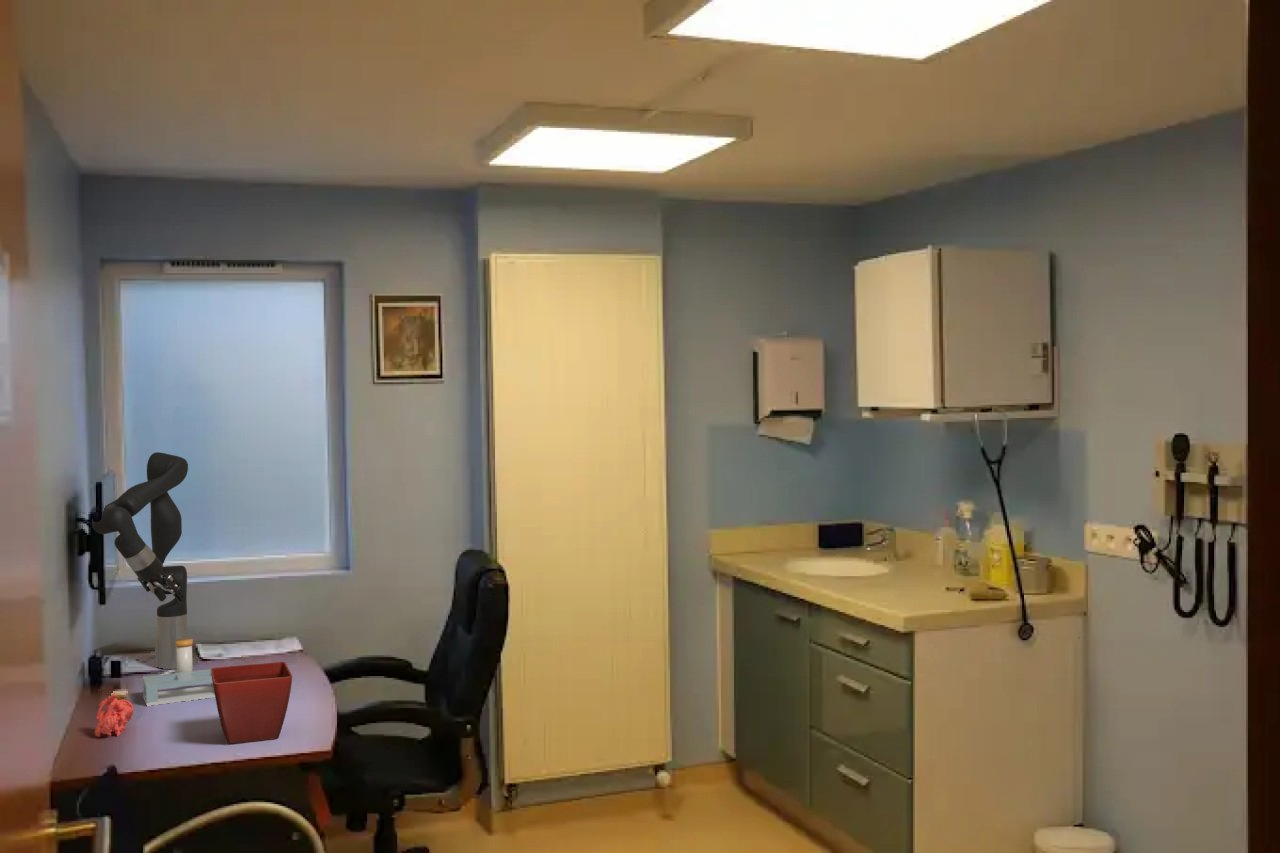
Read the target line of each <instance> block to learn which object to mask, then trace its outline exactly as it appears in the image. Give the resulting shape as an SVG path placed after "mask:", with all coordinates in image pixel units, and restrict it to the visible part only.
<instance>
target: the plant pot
mask: <svg viewBox="0 0 1280 853" xmlns="http://www.w3.org/2000/svg"><path fill="white" fill-rule="evenodd" d="M210 669H211V675H212V682H213V688H214V694H215V698H214V699H215V702H216V703H215V704H216V708H217V713H218V718H219V722H220V727H221V729H222V732H223V736H224V738H225V742H226V743H227V744H237V743H246V742H247V743H249V742H256V741H257V742H258V741H259V742H260V741H266V740H267V741H268V740H276V739H278V738H279V737H280V735H281V732H282V728H283V726H284V722H285V719H286V714H287V710H288V706H289V702H290V696H291V691H292V682H293V675H292V673H291V672H292V671H291V670H290V668H289V666H288V665H287V662H285V661H277V662H265V663H264V662H263V663H254V664H243V665H242V664H240V665H229V666H220V667H211V668H210Z"/></svg>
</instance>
